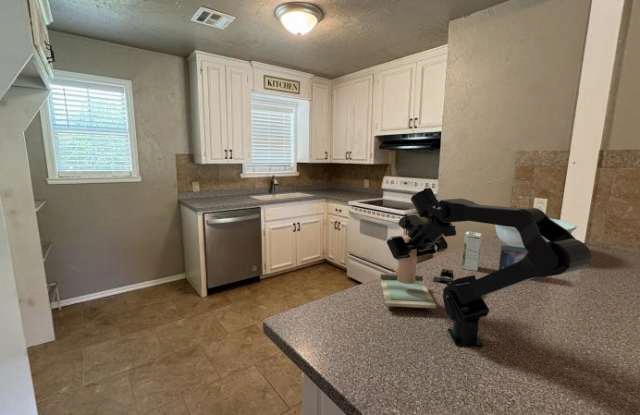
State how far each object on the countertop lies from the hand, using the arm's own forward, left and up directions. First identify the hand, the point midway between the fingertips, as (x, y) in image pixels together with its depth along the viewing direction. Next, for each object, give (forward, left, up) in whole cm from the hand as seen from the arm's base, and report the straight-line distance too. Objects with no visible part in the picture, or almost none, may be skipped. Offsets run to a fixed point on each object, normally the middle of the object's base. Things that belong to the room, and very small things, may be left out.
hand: (404, 257), depth 94 cm
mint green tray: (-1, -1, -13) cm, 13 cm away
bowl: (+54, -68, -14) cm, 88 cm away
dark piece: (+14, -18, -14) cm, 27 cm away
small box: (+23, -46, -14) cm, 53 cm away
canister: (-1, -1, -7) cm, 7 cm away
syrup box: (+29, -32, -14) cm, 45 cm away
